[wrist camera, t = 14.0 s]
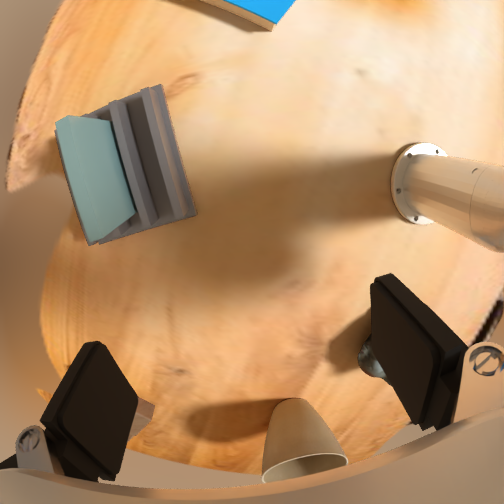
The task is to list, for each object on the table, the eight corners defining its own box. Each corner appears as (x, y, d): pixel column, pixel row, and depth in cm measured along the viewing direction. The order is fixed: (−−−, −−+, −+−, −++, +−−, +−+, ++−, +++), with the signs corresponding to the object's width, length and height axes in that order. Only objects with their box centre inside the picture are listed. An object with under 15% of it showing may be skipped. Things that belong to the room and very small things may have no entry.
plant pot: (259, 432, 55) (265, 493, 40) (251, 391, 50) (257, 462, 35) (325, 422, 55) (342, 479, 40) (330, 378, 50) (354, 445, 35)
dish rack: (162, 85, 32) (152, 77, 27) (197, 213, 38) (192, 223, 33) (67, 126, 32) (49, 125, 28) (102, 242, 39) (87, 254, 34)
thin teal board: (119, 122, 32) (68, 115, 20) (143, 207, 36) (103, 237, 24) (108, 126, 32) (55, 122, 20) (132, 211, 36) (89, 242, 24)
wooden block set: (153, 422, 46) (123, 451, 50) (157, 401, 51) (128, 433, 55) (73, 379, 41) (58, 416, 46) (83, 359, 47) (66, 399, 51)
